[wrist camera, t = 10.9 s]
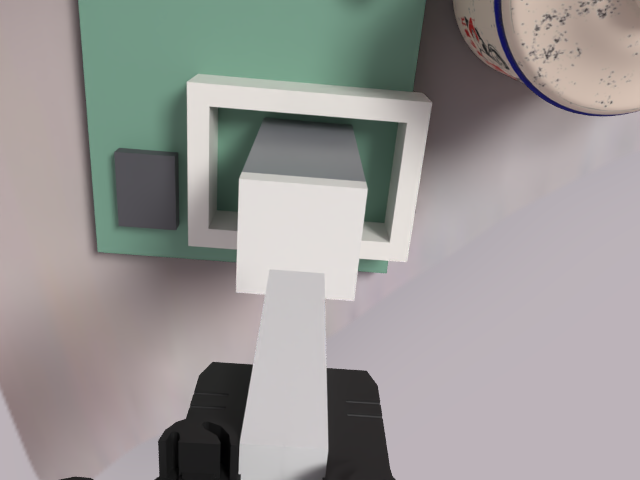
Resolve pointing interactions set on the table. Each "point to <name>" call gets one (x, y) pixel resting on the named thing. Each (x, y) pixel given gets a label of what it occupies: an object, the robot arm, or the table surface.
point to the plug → (301, 206)
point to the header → (311, 100)
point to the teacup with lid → (561, 49)
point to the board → (233, 124)
